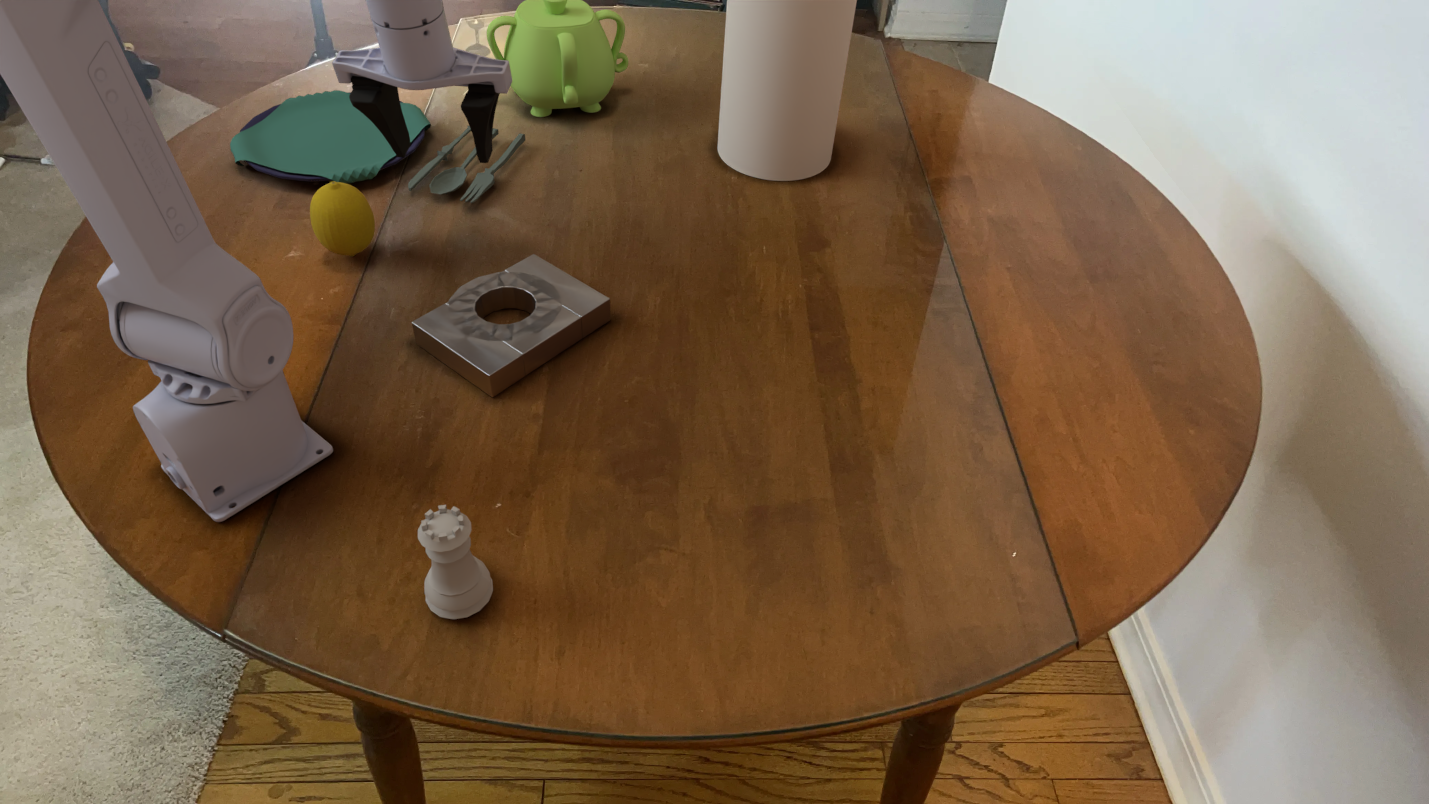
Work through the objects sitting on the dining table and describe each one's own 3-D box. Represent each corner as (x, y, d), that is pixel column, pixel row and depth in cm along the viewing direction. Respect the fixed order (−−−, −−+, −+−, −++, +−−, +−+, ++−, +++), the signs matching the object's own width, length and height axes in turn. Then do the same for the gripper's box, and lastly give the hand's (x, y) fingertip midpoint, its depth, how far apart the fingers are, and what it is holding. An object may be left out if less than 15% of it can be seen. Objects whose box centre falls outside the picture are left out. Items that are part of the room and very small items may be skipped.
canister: (827, 187, 102) (856, 6, 88) (708, 171, 103) (719, -10, 89) (834, 131, 111) (862, -40, 97) (726, 117, 112) (738, -54, 98)
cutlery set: (309, 95, 110) (304, 77, 108) (538, 139, 106) (536, 121, 104) (201, 174, 96) (193, 154, 95) (459, 228, 92) (456, 209, 90)
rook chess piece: (498, 567, 63) (484, 492, 57) (489, 623, 59) (473, 550, 54) (432, 566, 62) (412, 492, 57) (420, 623, 59) (397, 549, 54)
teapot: (469, 98, 112) (454, -7, 103) (545, 60, 121) (537, -39, 112) (569, 138, 106) (562, 31, 97) (642, 96, 115) (641, -6, 106)
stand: (492, 398, 75) (488, 375, 73) (409, 339, 79) (404, 317, 77) (610, 320, 83) (610, 298, 81) (529, 271, 87) (526, 249, 86)
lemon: (365, 276, 85) (346, 203, 80) (311, 266, 86) (288, 193, 80) (392, 244, 89) (375, 172, 84) (339, 235, 90) (319, 163, 84)
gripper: (508, -10, 74) (532, 132, 84) (335, -20, 74) (381, 122, 85) (487, 36, 69) (515, 179, 80) (303, 25, 70) (356, 169, 81)
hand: (445, 153), depth 82 cm, fingers open, 7 cm apart
